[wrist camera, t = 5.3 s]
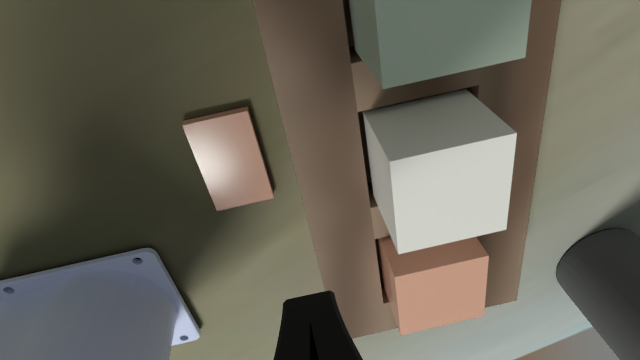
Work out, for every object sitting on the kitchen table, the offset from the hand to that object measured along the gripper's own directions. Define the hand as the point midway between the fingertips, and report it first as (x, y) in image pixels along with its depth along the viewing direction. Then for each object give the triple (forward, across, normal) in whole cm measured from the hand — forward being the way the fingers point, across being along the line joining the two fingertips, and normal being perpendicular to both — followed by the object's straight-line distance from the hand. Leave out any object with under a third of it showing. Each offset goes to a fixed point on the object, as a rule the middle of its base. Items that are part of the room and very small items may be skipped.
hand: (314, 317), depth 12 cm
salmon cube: (+9, -6, +7) cm, 13 cm away
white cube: (+8, -6, 0) cm, 10 cm away
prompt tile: (+10, +3, 0) cm, 11 cm away
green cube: (+8, -6, -7) cm, 12 cm away
